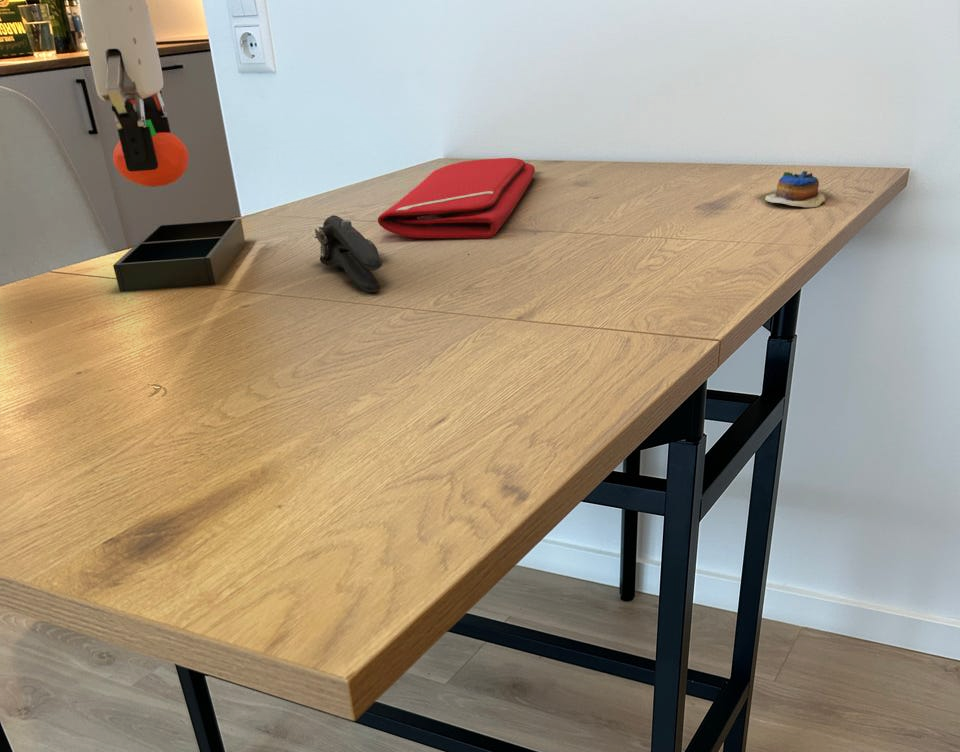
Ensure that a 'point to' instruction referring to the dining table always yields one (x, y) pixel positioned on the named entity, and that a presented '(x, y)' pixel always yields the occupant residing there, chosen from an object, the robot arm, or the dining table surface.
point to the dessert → (797, 190)
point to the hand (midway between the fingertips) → (152, 162)
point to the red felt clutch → (461, 200)
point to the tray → (180, 255)
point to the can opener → (349, 252)
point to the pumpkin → (168, 157)
